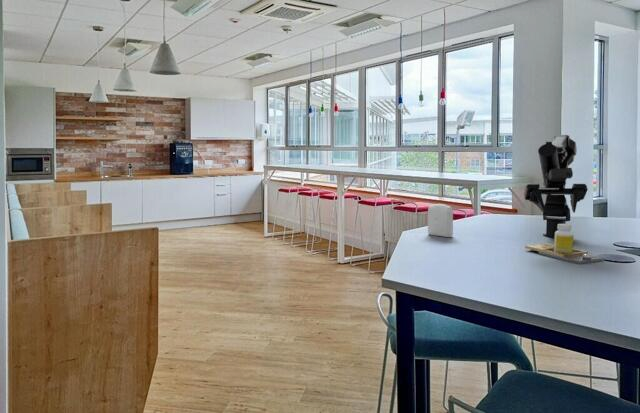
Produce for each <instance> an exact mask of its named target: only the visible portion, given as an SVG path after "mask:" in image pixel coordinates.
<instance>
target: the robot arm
mask: <svg viewBox="0 0 640 413" xmlns="http://www.w3.org/2000/svg"><path fill="white" fill-rule="evenodd" d="M537 153H538V158H539V162H540V169H541V174H542V180H543V183H542V184H543V186H544V187H540V186H541V185H540V183H527V184H526V186H525V190H524V200H525V201H528V202H530V203H533V204H534V205H535V206H537V207H538V209H539V210H540V211H541V212H542V220H543V221H546V227H545V230H546V231H545V233H543V234H542V236H545V237H549V238H555V232H556V231H558V229H557V226H558V224H567V223H566V222H571V211H572V213H573V214H575V213H576V209H577V204H578V202H581V201H582V200H583V201H584V199H585V198H586V194H587V192H588V190H589V188H588V185H587V184H586V183H572V187H571V188H570V187H567V188H566V184H567V179H571V178H572V177H573V174H574V173H573V172H574V171H573V169H572V167H569V166H570V165H571V164H572V163H573V162H574V160H575V156H576V155H577V143H576V141H575V140H573V139H571V137H570V135H568V134H557V135H554V138H553V141H545V144H542V145H541V146H540V147H538V150H537ZM542 195H546V196H545V197H546V198H545V202H544V199H543V196H542ZM566 196H569V197H570V198H569V199H570V200H569V201H570V206H571V209H570V207H569V205H568V203H567V198H566Z"/></svg>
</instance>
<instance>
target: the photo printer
mask: <svg viewBox="0 0 640 413" xmlns="http://www.w3.org/2000/svg"><path fill="white" fill-rule="evenodd" d="M427 208H428V209H427V234H428V235H429V236H430V235H431V236H439V237H445V238H451V237H453V235H454V214H453V213H454V211H453V208H452V207H451V206H450V205H447V204H444V203H435V204H431V205H429V206H428V207H427Z"/></svg>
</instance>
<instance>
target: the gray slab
mask: <svg viewBox="0 0 640 413" xmlns="http://www.w3.org/2000/svg"><path fill="white" fill-rule="evenodd" d="M524 248H525V249H528V250H531V251H533V252H538V254H539V255H542V256H547V257H550V258H553V259H559V260H563V261H567V262H571V263H574V264H578V265H583V264H589V263H597V262H604V261H606V258H605V257H602V256H597V255H593V254H590V253H589V251H585V250H582V249H578V248H573V253H567V254H562V253H558V252H554V243H550V242H545V243H538V244H537V243H536V244H529V245H525V246H524Z"/></svg>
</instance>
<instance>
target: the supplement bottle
mask: <svg viewBox="0 0 640 413" xmlns="http://www.w3.org/2000/svg"><path fill="white" fill-rule="evenodd" d="M557 229H558V231H556V232H555V238H554V237H553V238H554V240H553V241H554V243H553V244H554V252H558V253H562V254H567V253H573V249H574V232H573V231H571V230H572V224H570V223H566V224H558V226H557Z"/></svg>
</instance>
